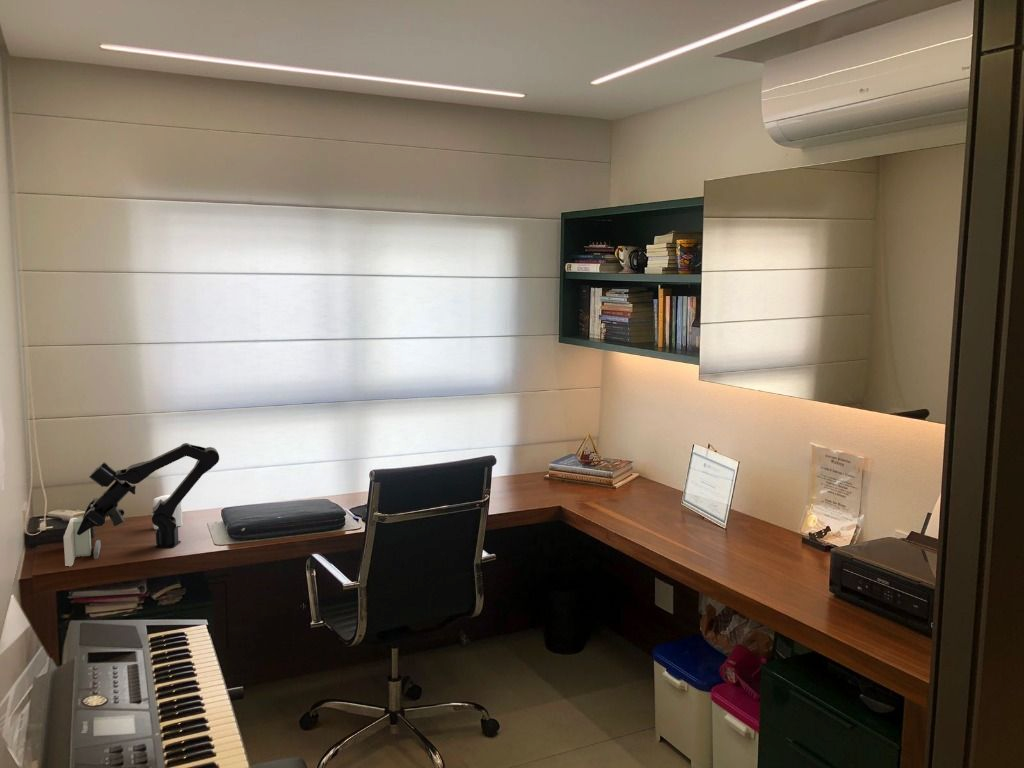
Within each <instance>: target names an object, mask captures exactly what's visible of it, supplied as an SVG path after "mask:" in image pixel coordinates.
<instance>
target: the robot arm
mask: <svg viewBox="0 0 1024 768" xmlns="http://www.w3.org/2000/svg"><path fill="white" fill-rule="evenodd" d="M186 457H189V458H192V459H194V460H196V462H195V464H194V466H193V467H192V469H191V470H190V471H189V472H188V473H187V475H186V476H185V477H184V478H183V480H182V481H181V483H179V485H178V486H177V487H176V488H175V489H174V491H173V492H172V493H170V495H171V496H170V497H169V498H168V499H166V500H165V501H164V502H163V501H162V500H161V499H160V500H159V502H158V504H157V505H156V506H155V507H153V506H152V512H151V522H152V524H154V525H156V526H158V529H156V532H155V546H154V547H155V548H175V547H176V546H177V545H179V544H181V542H182V541H181V540H180V539H179V526H178V527H176V518H174V517H173V516H172V515H173V513H174V511H175V509H176V507H177V505H178V504H179V503H180V502H181V501H182V500H183V499H184V498H185V497H186V496H187V495H188V493H189V492H190V491H191V489H192V488H193V487H194V486H195V485H196V483H197V482H199V480H200V479H201V478H202V476H204V475H205V474H206V473H207V472H209V471H210V470H211V469H213V467H215V466H216V465H217V464H218V463H219V461H220V454H219V451H218V450H217V449H216V448H215V447H212V446H208V447H205V446H204V447H203V446H200V445H194V444H190V443H189V442H188V443H187V442H183V443H182V444H181V445H180V446H177V447H175V448H173V449H171V450H169V451H167V452H165V453H162V454H160V455H158V456H156V457H154V458H152V459H149V460H146V461H145V460H144V461H140V462H138V463H135V464H131V465H129V466H128V467H127V468H123V469H119V470H115V469H113V468H112V467H111V466H109V464H108V463H107V462H105V461H104V462H102V463H101V464H100V465H99V466H98V467H96V468H95V469H94V470H93V471H92V472H91V473H90V474H89V476H88V478H89V479H91V480H92V481H93V482H94V483H96V484H97V485H99V486H100V487H101V488H104V487H105V488H107V489H106V490H105V491H103V492H102V494H101V495H100V496H99V497H95V498H94V497H93V498H92V499H91V501H90V502H89V504H88V505H87V507H86V510H85V512H84V514H83V517H82V518H83V520H82V523H81V525H80V527H79V529H78V531H77V534H78V535H81V534H82V533H84V532H85V531H87V530H88V529H90V530H91V529H92V528H93V527H102V526H103V525H104V524H106V522H107V521H106V520H107V518H108V517H109V519H110V521H111V522H112V524H113V526H114V527H117V526H119V525H121V524H124V522H125V518H124V515H125V513H126V512H125V510H124V509H123V508H119V507H118V506H119V503H120V502H121V501H122V500H123V498H125V497H126V496H127V495H128V494H129V493H131V494H132V495H136V492H137V491H136V488H137V486H136V485H137V484H140V483H141V482H142V481H144V480H145V479H146V478H147V477H149V476H150V475H151V474H153V473H154V472H155V471H158V470H159V469H160V470H161V469H162V468H164V467H165V466H168V465H171V464H173V463H174V462H177V461H178V460H180V459H183V458H186Z"/></svg>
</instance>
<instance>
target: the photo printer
mask: <svg viewBox="0 0 1024 768" xmlns="http://www.w3.org/2000/svg"><path fill="white" fill-rule="evenodd" d="M170 496H171V494H165V495H160V496H157V497H155V498H153V501H152V508H153V507H155V506H156V505H157V504H158V502H159V500H160V499H161V500H162V501H163V502H164V501H165V500H166V499H168V498H169V497H170ZM182 507H183V506H182V500H181V502H180V503H179V504H178V505H177V507H176V509H175V511H174V513H173V515H172V516H173V517H174V518H176V527H177V526H178V527H182V526H183V509H182ZM152 524H153V523H152ZM153 529H154V530H157V529H158V526H156V525H154V524H153Z"/></svg>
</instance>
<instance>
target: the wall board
mask: <svg viewBox="0 0 1024 768" xmlns="http://www.w3.org/2000/svg"><path fill="white" fill-rule="evenodd" d="M74 519H78V517H70V519H69V522H68V524H67V528H66V529H65V533H63V548H64V549H63V550H64V565H65V566H69V567H73V566H72V565H74V562H75V558H76V557H75V545H74V528H73V521H74ZM101 544H102V543H101V539H98V540H97V539H96V540H95V544H94V548H93V560H98V559H99V555H100V553H101V552H100V550H101Z"/></svg>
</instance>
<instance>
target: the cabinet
mask: <svg viewBox="0 0 1024 768" xmlns="http://www.w3.org/2000/svg"><path fill="white" fill-rule="evenodd" d="M82 520H83V517H80V518H79V517H78V518H77V519H74V521H73V528H74V545H75V558H78V557H80V556H81V557H90V556H92V553H93V552H92V536H91V528H90V529H88V530H87V531H85V532H84V533H82V534H81V535H78V534H77V531H78V529H79V527H80V525H81V523H82ZM81 557H80V558H81Z"/></svg>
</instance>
